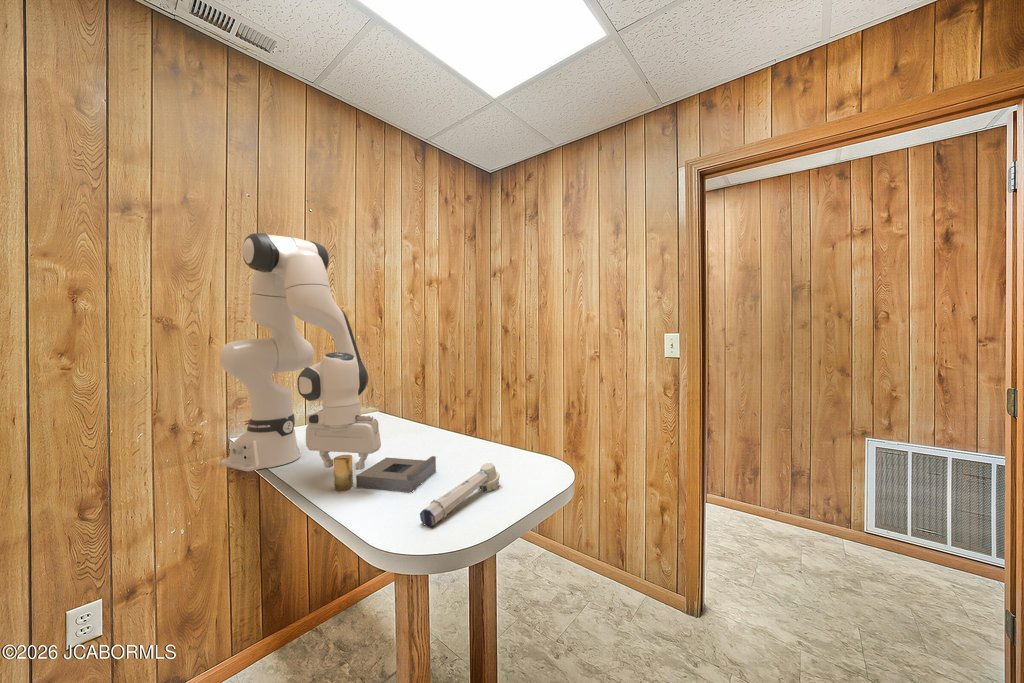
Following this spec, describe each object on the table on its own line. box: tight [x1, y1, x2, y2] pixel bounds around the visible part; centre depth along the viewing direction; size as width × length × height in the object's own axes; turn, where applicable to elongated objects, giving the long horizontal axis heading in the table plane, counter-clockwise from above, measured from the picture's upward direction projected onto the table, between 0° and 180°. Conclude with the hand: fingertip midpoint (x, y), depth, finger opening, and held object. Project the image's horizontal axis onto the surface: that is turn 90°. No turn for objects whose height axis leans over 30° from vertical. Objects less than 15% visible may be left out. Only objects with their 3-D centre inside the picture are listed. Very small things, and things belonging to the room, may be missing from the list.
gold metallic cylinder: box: [333, 454, 354, 492], centre depth 96 cm, size 4×4×8 cm
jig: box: [355, 455, 437, 493], centre depth 101 cm, size 16×14×4 cm
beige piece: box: [419, 462, 501, 528], centre depth 87 cm, size 5×7×25 cm
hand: (344, 468), depth 96 cm, fingers open, 8 cm apart
